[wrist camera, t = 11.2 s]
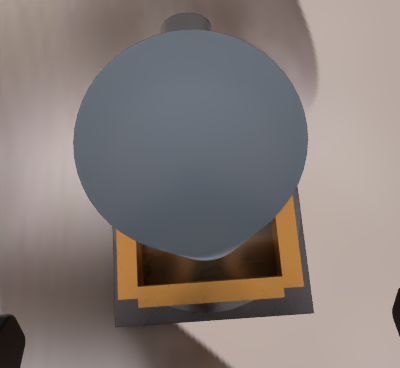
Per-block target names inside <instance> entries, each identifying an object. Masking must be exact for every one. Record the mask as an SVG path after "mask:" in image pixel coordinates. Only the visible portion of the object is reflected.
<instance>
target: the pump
mask: <svg viewBox="0 0 400 368" xmlns="http://www.w3.org/2000/svg"><path fill="white" fill-rule="evenodd" d="M73 145H74V158H75V163H76V168H77V173H78V175H79V178H80V181H81V184H82V186H83V188H84V190H85V192H86V194H87V196H88V198H89V200H90V201H91V202H92V204H93V205H94V207H95V208H96V209H97V211H98V212H99V213H100V214H101V215H102V216H103V217H104V218H105V219H106V220H107V221H108V223H110V224H111V225H112V226H113V227H115V228H116V229H117V230H118V231H120V232H121V233H123V234H124V235H126V236H128V237H130V238H131V239H133V240H135V241H137V242H139V243H142V244H144V245H147V246H149V247H152V248H156V249H159V250H163V251H166V252H170V253H173V254H177V255H180V256H184V257H187V258H191V259H194V260H200V261H210V260H216V259H219V258H222V257H224V256H226V255H228V254H230V253H231V252H232V251H234V250H235V249H236V248H238V247H239V246H240V245H241V244H243V243H244V242H245V241H247V240H248V239H249V238H250V237H252V236H253V235H254V234H256V233H257V232H258V231H259V230H261V229H262V228H263V227H264V226H266V225H267V224H268V223H269V222H271V221H272V220H273V219H274V218H275V217H276V215H277V214H278V213H279V212H280V211H281V210H282V209H283V208H284V206H285V205H286V203H287V202H288V201H289V199H290V198H291V196H292V195H293V193H294V191H295V189H296V187H297V185H298V183H299V180H300V178H301V175H302V172H303V170H304V165H305V160H306V155H307V145H308V133H307V123H306V118H305V113H304V109H303V106H302V104H301V101H300V98H299V96H298V94H297V92H296V90H295V88H294V86H293V84H292V83H291V81H290V80H289V78H288V77H287V76H286V74H285V73H284V72H283V70H282V69H281V68H280V67H279V66H278V65H277V64H276V63H275V62H274V61H273V60H272V59H271V58H269V57H268V56H267V55H266V54H265V53H263V52H262V51H260V50H259V49H257V48H256V47H254V46H253V45H251V44H249V43H247V42H245V41H243V40H241V39H238V38H236V37H233V36H230V35H227V34H223V33H218V32H213V31H211V24H210V22H209V21H208V20H207V19H206V18H205V17H203V16H201V15H199V14H195V13H181V14H177V15H174V16H171V17H170V18H168V19H167V20H166V21H164V23H163V24H162V27H161V34H159V35H155V36H153V37H150V38H147V39H145V40H142V41H140V42H138V43H136V44H135V45H133V46H131V47H129V48H127V49H126V50H125V51H123V52H122V53H120V54H119V55H117V56H116V57H115V58H114V59H113V60H112V61H111V62H109V63H108V64H107V65H106V66H105V67H104V68H103V70H102V71H101V72H100V73H99V74H98V75H97V76H96V78H95V79H94V81H93V82H92V84H91V85H90V87H89V88H88V90H87V92H86V94H85V96H84V98H83V100H82V103H81V106H80V108H79V111H78V114H77V119H76V123H75V128H74V141H73Z"/></svg>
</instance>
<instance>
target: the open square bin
mask: <svg viewBox="0 0 400 368" xmlns="http://www.w3.org/2000/svg"><path fill="white" fill-rule="evenodd" d="M112 229H113V256H114V301H115V327H125V326H139V325H153V324H168V323H182V322H196V321H210V320H223V319H239V318H253V317H267V316H281V315H296V314H310V313H314V311H313V302H312V295H311V287H310V280H309V272H308V265H307V257H306V250H305V241H304V234H303V226H302V218H301V211H300V203H299V195H298V188H297V187H296V189H295V191H294V193H293V195H292V196H291V198H290V199H289V201H288V202H287V203H286V205H285V206H284V208H283V209H282V210H281V211H280V212H279V213H278V214H277V215H276V217H275V218H274V219H273V220H272V221H271V222H269V223H268V224H267V225H266V226H264V227H263V228H262V229H261V230H259V231H258V232H257V233H256V234H254V235H253V236H252V237H250V238H249V239H248V240H247V241H245V242H244V243H243V244H241V245H240V246H239V247H238V248H236V249H235V250H234V251H232V252H231V253H230V254H228V255H226V256H224V257H222V258H219V259H216V260H210V261H200V260H194V259H191V258H187V257H184V256H180V255H177V254H173V253H170V252H166V251H163V250H159V249H156V248H152V247H149V246H147V245H144V244H142V243H139V242H137V241H135V240H133V239H131V238H130V237H128V236H126V235H124V234H123V233H121V232H120V231H118V230H117V229H116V228H115V227H113V226H112Z"/></svg>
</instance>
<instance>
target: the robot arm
mask: <svg viewBox="0 0 400 368" xmlns="http://www.w3.org/2000/svg"><path fill="white" fill-rule="evenodd" d="M392 314H393V319H394V322H395V325H396V327H397V330H398V333H399V336H400V288H399V289H398V292H397V296H396V299H395V302H394V305H393V309H392ZM24 347H25V336H24V333H23V331H22V329H21V328H20V326H19V324H18V322H17V320H16V318H15V317H14V316H13V315H11V314H6V315H0V368H20V365H21V361H22V356H23V352H24Z"/></svg>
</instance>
